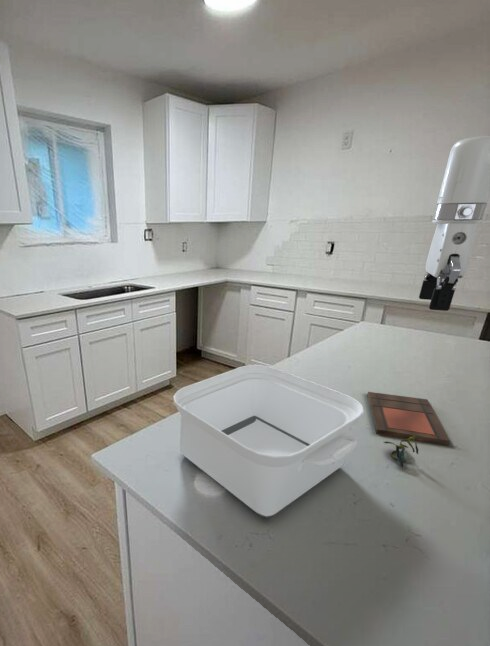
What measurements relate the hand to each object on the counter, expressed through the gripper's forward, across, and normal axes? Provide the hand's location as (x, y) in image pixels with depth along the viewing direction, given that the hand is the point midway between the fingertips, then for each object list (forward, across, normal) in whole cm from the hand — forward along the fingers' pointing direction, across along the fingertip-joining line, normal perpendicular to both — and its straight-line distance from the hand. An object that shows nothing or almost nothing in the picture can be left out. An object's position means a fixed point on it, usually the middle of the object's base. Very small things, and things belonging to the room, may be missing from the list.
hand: (432, 304), depth 75 cm
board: (+29, +4, -2) cm, 30 cm away
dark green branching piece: (+30, -14, +2) cm, 33 cm away
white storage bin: (+30, -26, +29) cm, 49 cm away
